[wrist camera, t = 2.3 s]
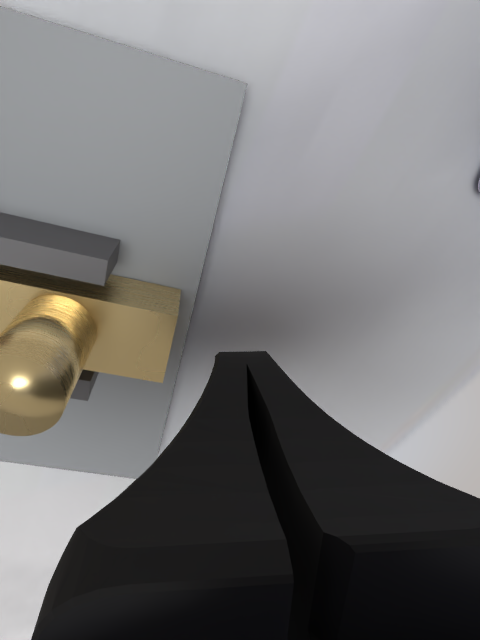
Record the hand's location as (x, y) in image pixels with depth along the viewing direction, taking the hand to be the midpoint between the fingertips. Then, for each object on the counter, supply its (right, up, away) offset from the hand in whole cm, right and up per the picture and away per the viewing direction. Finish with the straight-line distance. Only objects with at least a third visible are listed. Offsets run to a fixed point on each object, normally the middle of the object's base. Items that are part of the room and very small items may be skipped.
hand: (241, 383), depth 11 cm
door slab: (-7, +3, +3) cm, 8 cm away
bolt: (-5, +2, +2) cm, 6 cm away
